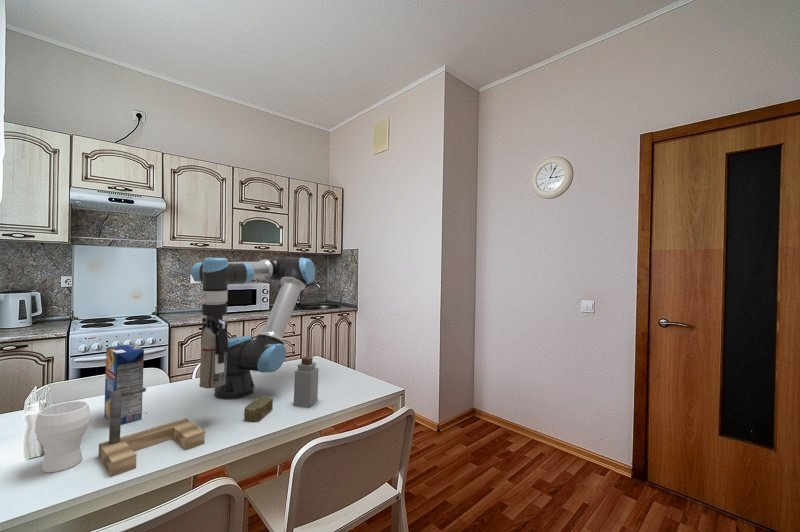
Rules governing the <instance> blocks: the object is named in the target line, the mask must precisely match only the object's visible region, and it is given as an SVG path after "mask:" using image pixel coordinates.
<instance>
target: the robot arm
mask: <svg viewBox="0 0 800 532" xmlns="http://www.w3.org/2000/svg"><path fill="white" fill-rule="evenodd" d="M315 268H316V267H315V265H314V262H313V261H312V260H311V259H310V258H308V257H307V258H306V257H282V256H281V257H274V258H266V259H260V260H258V261H231V262H230V261H229V260H228V258H226V257H206V258H204V259H203V261H202V262H196V263H194V264H193V266H192V267H191V270H190V271H191V273H190V274H191V277H192V280H194V281H195V282H199V283H202V293H201V295H200V296H201V298H202V303H203V304H202V305H201V315H202V316H205V317H202V319H201V321H202V323H201V324H202V325H201V337H200V338H201V339H200V345H201V344H202V335H203V331H204V329H205V327H207V328H211V330H212V332H213V333H214V334H215V341H216V353H214V354H215V374H217V373H222V372H224V354H225V352H227V367H226V384H225V385H223V386H221V387H218V388H214V397H216V398H218V399H223V400H232V399H233V400H234V399H240V398H245V397H247V396H250V395H252V394H254V392H255V382H254V379H253V377H252V373H251V372H252V371H253V372H260V373H262V374H263V373H270V374H271V373H274V372H276V371H277V370H279V369H281V366H282V365H283V364H284V362H285V361H286V355H287V354H286V352H287V350H286V347H285V341H284V335H285V332H286V329H287V327H288V324H289V321H290V319H291V317H292V313H293V312H294V309H295V306H296V303H297V301H298V298H299V296H300V292H301V291H304V290H306V286H307V284H312V283H313V282H314V280H315V277H316V276H315V275H316V270H315ZM254 279H256V280H257V279H260V280H262V281H276V282H280V283H281V287H280V289H279V291H278V294H277V296H276V299H275V301H274V303H273V306H272V308H271V310H270V313H269V315H268V317H267V320H266V322H265V324H264V328H263V329H262V332H259V333H258V334H256V337H255V338H254V341H253V339H252V337H251V335H250V336H249V335H243V336H234V337H230V338H229V334H228V335H227V330H228V325H229V324H228V322H227V321H224V317H223V316H224V315H227V313H228V304H227V302H228V294H229V293H228V291H229V290H228V289H229V285H245V284H247V283H250V282H251V281H252V280H254ZM217 333H218V335H217Z"/></svg>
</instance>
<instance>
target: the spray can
mask: <svg viewBox="0 0 800 532" xmlns="http://www.w3.org/2000/svg"><path fill="white" fill-rule="evenodd" d="M201 335H202V334H201ZM217 335H218V333H217ZM227 335H228V336H229V331H228V329H227ZM214 353H216V341H215V334H214V333H213V332H212V330H211V328H207V327H205V329H204V331H203V335H202V344H201V343H200V364H199V368H200V369H199V388H204V389H215V388H218V387H221V386H223V385H225V384H226V367H227V352H225V354H224V372H222V373H217V374H215V354H214Z"/></svg>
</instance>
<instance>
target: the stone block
mask: <svg viewBox="0 0 800 532" xmlns="http://www.w3.org/2000/svg"><path fill="white" fill-rule="evenodd" d="M273 403H274V398H272V397H267V396H258V397H257V398H255V399H254V400H253V401H251V402H250V403H249V404H248V405H246V406H245V407H244V411H243V413H244V414H243V415H244V420H245V421H247V422H249V421H250V422H259V421H261V420H262V419H263V418H264V417H265V416H267V415H268V414H269V413H270V412H271V411H272V410H273V408H274V407H273Z"/></svg>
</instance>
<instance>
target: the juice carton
mask: <svg viewBox="0 0 800 532" xmlns="http://www.w3.org/2000/svg"><path fill="white" fill-rule="evenodd" d="M105 352H106V354H105V377H104V378H105V383H104V384H105V385H104V414H103V416H104V418H105V419H106V420H107V421H108V422H109V423H110V396H111V392H113V391H122V392H126V391H130V390H135V389H140V388H144V361H145V360H144V359H145V357H144V355H145V349H144V348H141V347H139V346H138V345H136V344H133V343H131V344H124V345H115V346H109V347H106V351H105ZM143 393H144V392H141V393H136V394H132V395H127V396H123V397H121V426H123V425H127V424H129V423H134V422H137V421H140V420H142V419H143V395H144V394H143Z"/></svg>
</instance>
